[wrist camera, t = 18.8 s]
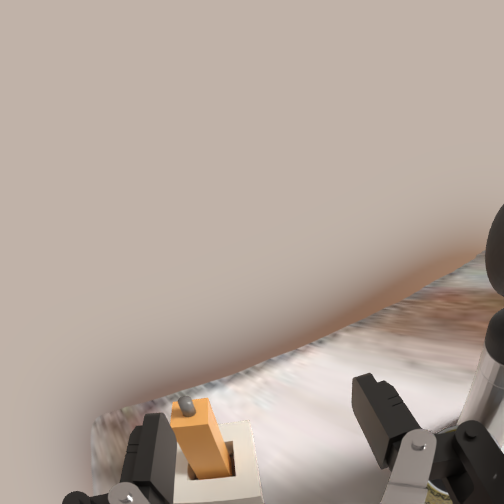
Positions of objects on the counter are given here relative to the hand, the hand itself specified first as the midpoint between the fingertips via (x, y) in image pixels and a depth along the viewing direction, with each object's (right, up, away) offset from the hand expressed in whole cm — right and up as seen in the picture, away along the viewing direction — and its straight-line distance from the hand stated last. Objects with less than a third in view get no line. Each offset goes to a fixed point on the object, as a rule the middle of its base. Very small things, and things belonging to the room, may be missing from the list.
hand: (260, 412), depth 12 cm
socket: (-5, -25, +25) cm, 35 cm away
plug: (-5, -25, +25) cm, 35 cm away
